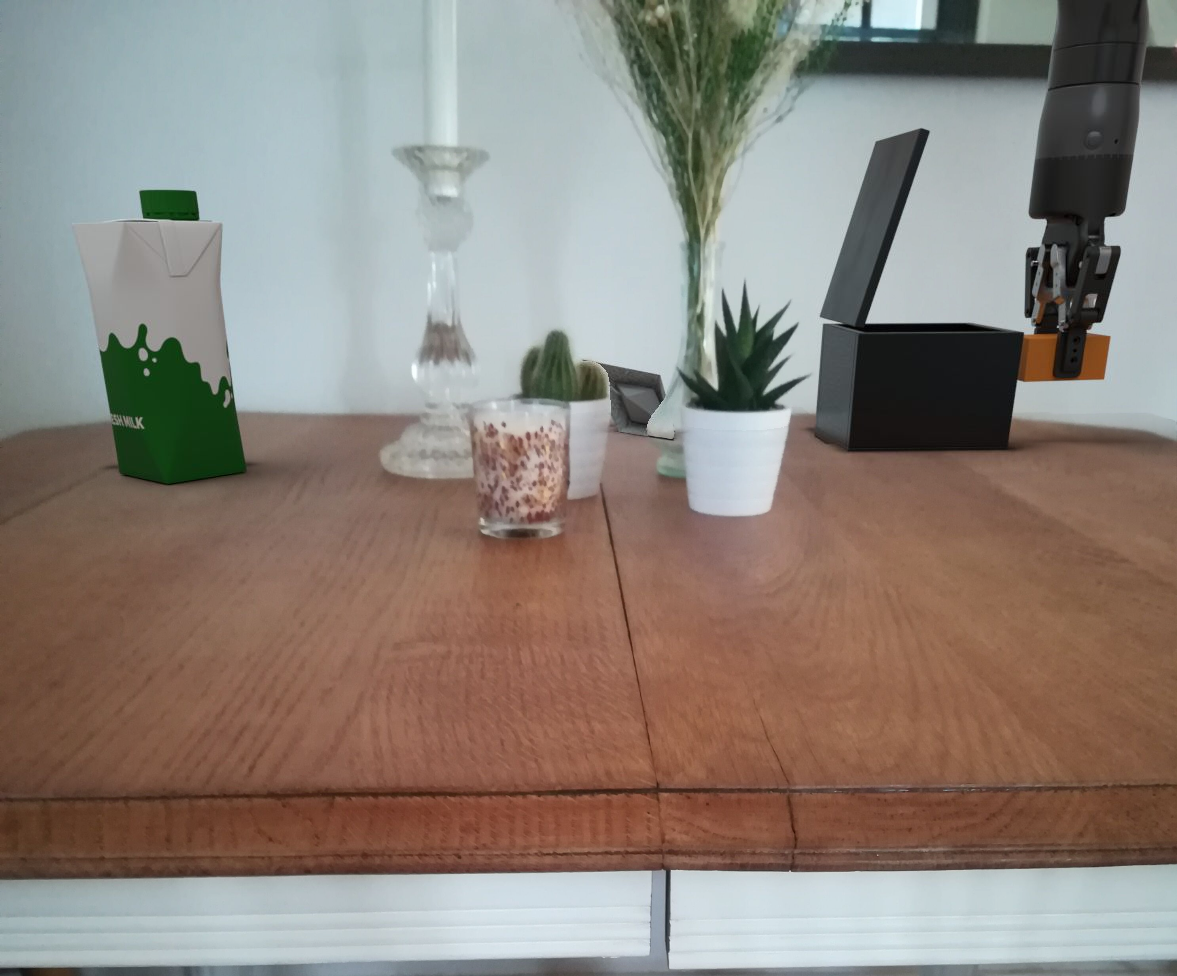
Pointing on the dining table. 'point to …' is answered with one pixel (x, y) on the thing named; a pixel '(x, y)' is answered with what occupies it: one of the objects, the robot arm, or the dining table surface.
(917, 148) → the box lid
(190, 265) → the milk carton
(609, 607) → the dining table surface
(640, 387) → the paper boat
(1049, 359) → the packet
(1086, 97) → the robot arm
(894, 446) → the black box
